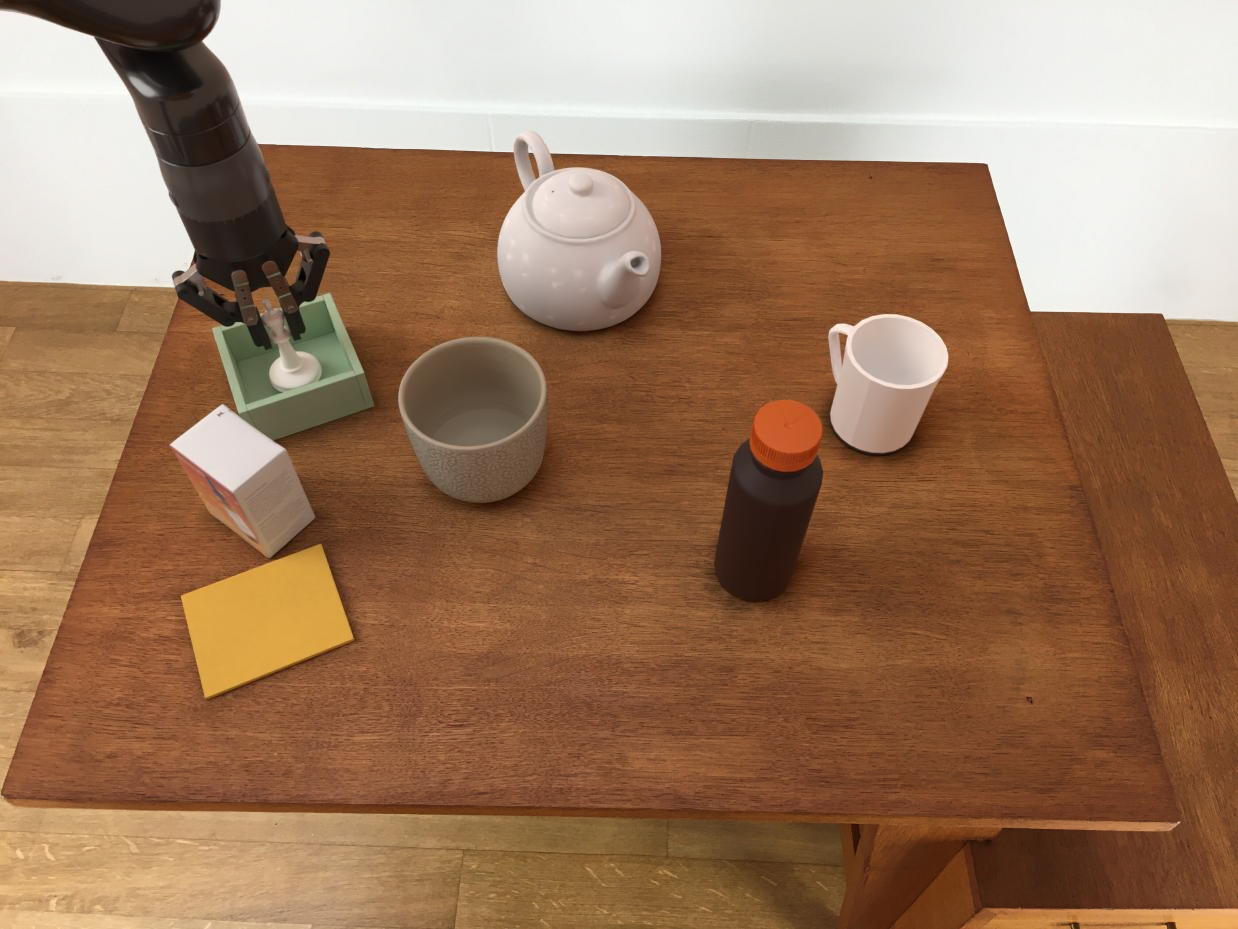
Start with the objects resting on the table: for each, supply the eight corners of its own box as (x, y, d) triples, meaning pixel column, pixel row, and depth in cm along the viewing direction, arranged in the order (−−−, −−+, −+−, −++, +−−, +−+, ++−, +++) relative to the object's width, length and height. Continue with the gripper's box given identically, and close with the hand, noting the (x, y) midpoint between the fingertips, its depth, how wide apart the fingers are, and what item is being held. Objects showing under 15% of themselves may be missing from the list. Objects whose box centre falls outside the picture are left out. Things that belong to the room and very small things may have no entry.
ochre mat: (206, 700, 76) (204, 698, 76) (182, 597, 81) (180, 595, 81) (354, 640, 79) (353, 638, 79) (322, 545, 84) (321, 543, 84)
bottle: (728, 525, 86) (756, 377, 70) (801, 550, 85) (848, 405, 68) (702, 587, 82) (726, 446, 66) (778, 614, 81) (822, 477, 65)
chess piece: (285, 401, 92) (253, 328, 84) (261, 371, 94) (228, 297, 86) (331, 377, 94) (304, 303, 86) (306, 347, 96) (278, 272, 88)
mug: (934, 418, 93) (966, 345, 85) (887, 476, 89) (916, 405, 81) (837, 364, 97) (859, 289, 89) (789, 416, 93) (807, 343, 85)
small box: (209, 514, 86) (165, 443, 78) (258, 473, 89) (221, 400, 80) (269, 561, 83) (231, 493, 75) (318, 518, 86) (286, 448, 77)
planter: (410, 427, 92) (389, 349, 83) (537, 403, 94) (530, 325, 85) (428, 534, 85) (407, 462, 76) (565, 506, 87) (560, 433, 78)
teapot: (681, 238, 108) (690, 133, 97) (643, 357, 98) (648, 254, 87) (522, 210, 111) (513, 104, 100) (468, 322, 100) (451, 218, 89)
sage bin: (255, 447, 91) (238, 413, 86) (228, 362, 97) (211, 328, 93) (374, 406, 94) (364, 372, 89) (341, 327, 100) (330, 292, 96)
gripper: (296, 138, 80) (342, 291, 94) (122, 182, 76) (197, 335, 90) (320, 191, 76) (365, 343, 90) (138, 241, 72) (214, 391, 86)
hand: (281, 338), depth 90 cm, fingers closed on chess piece
